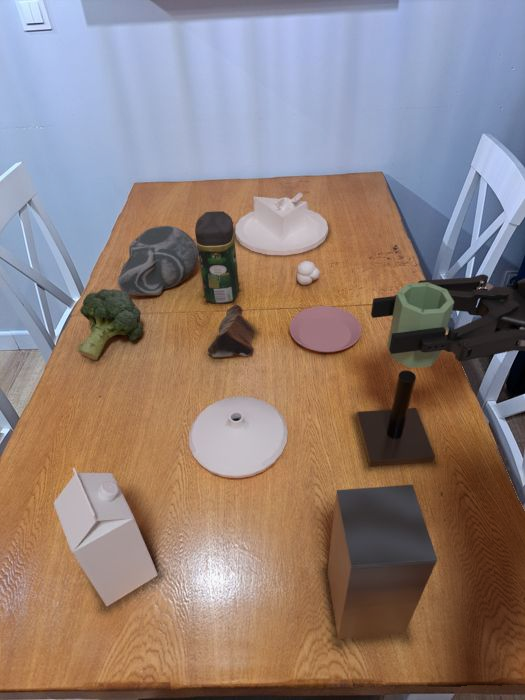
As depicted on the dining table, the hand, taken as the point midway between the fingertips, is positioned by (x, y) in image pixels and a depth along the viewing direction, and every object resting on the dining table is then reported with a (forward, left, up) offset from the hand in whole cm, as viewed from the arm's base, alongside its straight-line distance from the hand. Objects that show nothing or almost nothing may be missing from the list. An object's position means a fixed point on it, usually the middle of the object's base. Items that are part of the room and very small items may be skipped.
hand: (382, 325), depth 62 cm
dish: (+71, +7, -25) cm, 76 cm away
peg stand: (0, -5, -25) cm, 25 cm away
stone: (+28, +20, -25) cm, 43 cm away
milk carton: (-18, +36, -25) cm, 47 cm away
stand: (-24, +5, -25) cm, 35 cm away
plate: (+27, +2, -25) cm, 37 cm away
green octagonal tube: (0, -5, -5) cm, 7 cm away
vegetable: (+29, +45, -25) cm, 59 cm away
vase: (+1, +20, -25) cm, 32 cm away
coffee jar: (+44, +23, -25) cm, 56 cm away
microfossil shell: (+46, +3, -25) cm, 53 cm away
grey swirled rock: (+50, +37, -25) cm, 67 cm away
